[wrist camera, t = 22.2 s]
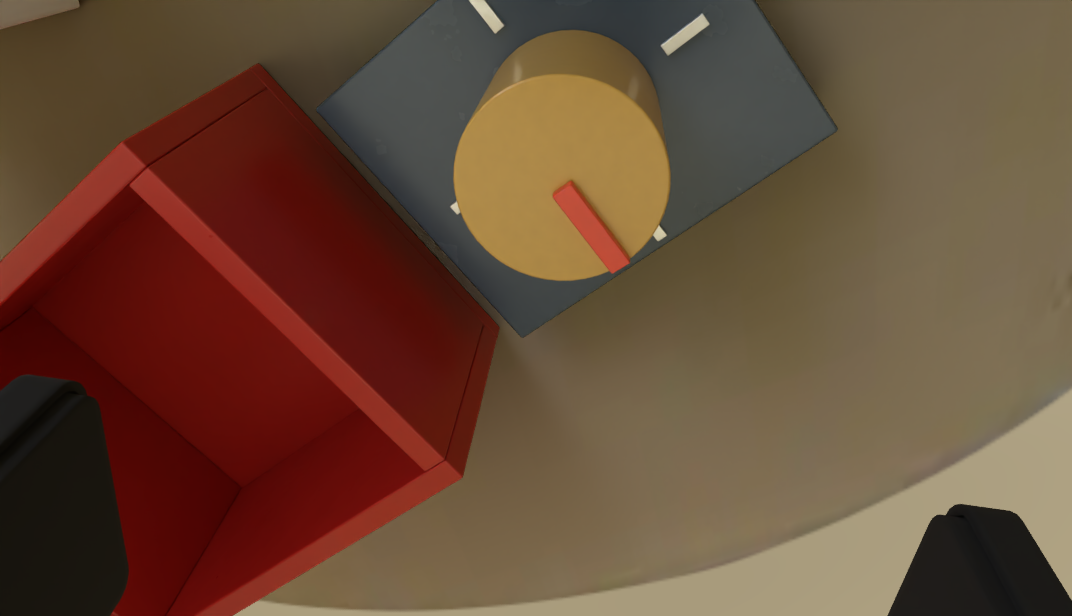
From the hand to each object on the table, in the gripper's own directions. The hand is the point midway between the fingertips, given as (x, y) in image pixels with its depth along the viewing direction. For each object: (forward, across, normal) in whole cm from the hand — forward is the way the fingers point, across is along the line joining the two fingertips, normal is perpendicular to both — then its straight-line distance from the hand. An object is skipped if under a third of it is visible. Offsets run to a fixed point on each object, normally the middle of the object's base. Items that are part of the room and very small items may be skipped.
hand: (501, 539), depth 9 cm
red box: (+20, +11, +10) cm, 25 cm away
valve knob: (+17, 0, 0) cm, 17 cm away
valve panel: (+20, 0, 0) cm, 20 cm away
